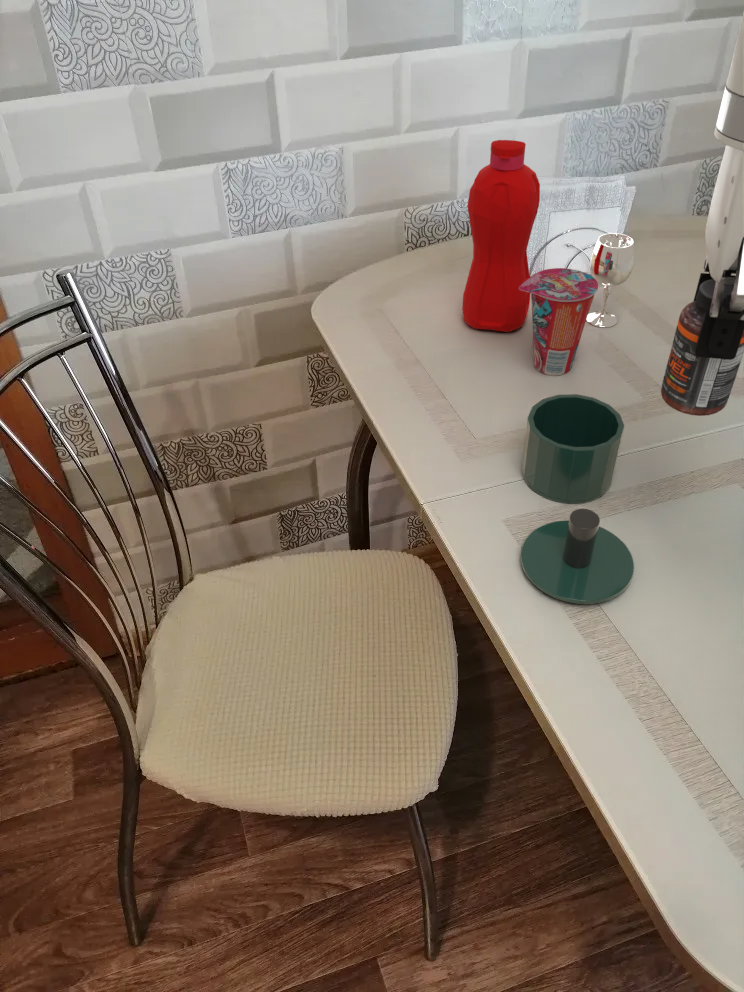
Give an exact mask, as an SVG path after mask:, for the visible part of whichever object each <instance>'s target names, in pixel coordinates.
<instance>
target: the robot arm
mask: <svg viewBox="0 0 744 992" xmlns="http://www.w3.org/2000/svg"><path fill="white" fill-rule="evenodd" d="M739 25H740V26H739V29H738V32H737V33H738V34H737V38H736V42H735V46H734V50H733V53H732V58H731V61H730V62H731V63H730V66H729V71H728V75H727V78H726V83H725V86H724V91H723V95H722V99H721V103H720V108H719V110H718V111H719V112H718V115H717V120H716V124H715V129H714V132H713V133H714V137H715V139H716V140H717V141H719V142H720V143H722V144H723V145H725V146H724V151H723V156H722V158H721V162H720V165H719V170H718V174H717V177H716V181H715V184H714V189H713V193H712V197H711V200H710V201H711V202H710V206H709V211H708V215H707V219H706V226H705V232H704V233H705V234H704V241H705V249H706V256H705V259H704V263H703V268H702V269H703V272H700V275H699V278H698V282H697V286H696V290H695V293H694V296H693V301H696V296H697V294H698V291H699V287H700V285H701V284H702V283H703V282H705V281H707V280H711V279H714V280H715V281H716V283H715V288H714V293H713V298H712V303H711V308H710V311H705V315H704V318H703V322H702V326H701V329H700V333H699V337H698V340H697V344H696V348H695V354H696V356H698V357H706V358H717V359H727V360H732V359H734V358H735V357H736V354H737V351H738V348H739V345H740V341H741V338H742V335H743V332H744V11H743V13H742V17H741V21H740V24H739ZM725 285H727V286H734V289H733V291H732V292H731V295H726V296H725V297H724V298H723V300H722V296H723V291H724V286H725Z"/></svg>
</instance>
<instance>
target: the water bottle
mask: <svg viewBox="0 0 744 992" xmlns="http://www.w3.org/2000/svg"><path fill="white" fill-rule="evenodd" d="M526 145H527V144H526V143H525V142H524V141H519V140H513V139H511V140H510V139H498V140H493V141H492V142H491V143H490V158H489V164H487V165H485V166H483V167H482V168H481V169H480V170H479V171H478V173H477V175H476V176H475V178H474V181H473V184H472V185H471V187H470V189H469V193H468V200H467V213H468V219H469V226H470V232H471V238H472V245H473V247H472V248H473V250H472V261H471V265H470V268H469V271H468V276H467V279H466V283H465V287H464V291H463V294H462V305H461V306H462V308H461V310H462V316H463V320H464V322H465V324H467V325H468V326H469V327H471V328H473V329H477V330H487V331H495V332H505V333H509V332H512V331H515V330H517V329H519V328H521V327H522V326H523V325H524V324H525V322H526V320H527V318H528V317H527V316H528V312H529V309H530V303H531V293H530V292H526V291H522V290H519V286H520V285H521V284H522V283H523V282H525V281H526V280H527V279H528V278H530V277H531V275H530V269H529V260H528V252H527V250H528V246H529V242H530V239H531V234H532V230H533V227H534V224H535V221H536V218H537V215H538V211H539V207H540V201H541V199H540V198H541V197H540V195H541V184H540V181H539V179H538V176H537V173H536V171H534V170H533V169H532V168H531V167H529V166H528V165H526V164H525V156H526Z"/></svg>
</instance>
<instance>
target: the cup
mask: <svg viewBox="0 0 744 992" xmlns="http://www.w3.org/2000/svg"><path fill="white" fill-rule="evenodd" d="M519 290H522V291H526V292H530V301H531V323H532V325H531V326H532V360H533V362H532V363H533V367H534V369H535V370H537V371H538V372H539V373H541V374H544V375H546V376H562V375H566V374H568V373H569V372H570V371H571V370H572V368H573V365H574V361H575V357H576V354H577V351H578V349H579V348H578V347H579V344H580V342H581V338H582V335H583V331H584V329H585V325H586V322H587V320H586V319H587V316H588V314H590V313H589V312H590V310H591V307H592V303H593V300H594V297H595V294H597V292H598V290H599V283H598V282H597V281H596V280H595V279H594V278H593V277H592V276H591V274H589V273H587V272H585V271H581V270H578V269H572V268H566V267H565V268H563V267H553V268H548V269H543V270H540V271H538V272H535V273H534V274H533V275H530V278H528V279H527V280H526V281H525V282H523V283H522V284H521V285H520V286H519Z"/></svg>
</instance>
